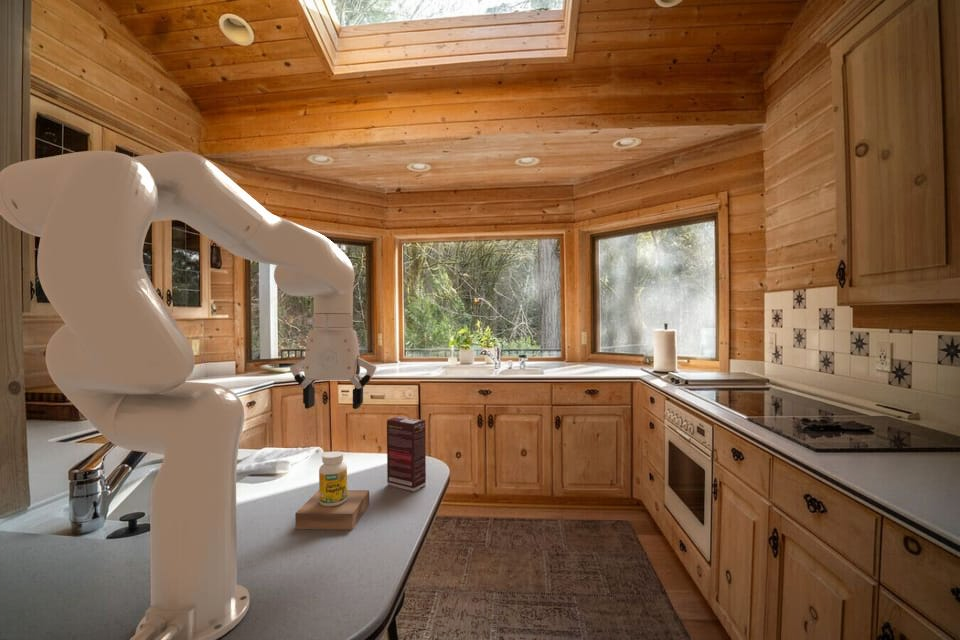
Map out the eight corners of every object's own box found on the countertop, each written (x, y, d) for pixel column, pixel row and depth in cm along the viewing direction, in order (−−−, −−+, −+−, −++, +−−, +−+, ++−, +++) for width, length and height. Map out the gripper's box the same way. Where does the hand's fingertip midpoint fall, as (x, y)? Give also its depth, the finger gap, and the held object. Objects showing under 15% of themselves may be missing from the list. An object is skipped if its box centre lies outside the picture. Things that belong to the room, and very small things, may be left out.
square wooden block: (352, 529, 81) (352, 513, 81) (295, 529, 81) (295, 513, 81) (369, 504, 92) (369, 490, 92) (318, 503, 92) (318, 489, 92)
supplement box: (426, 485, 102) (426, 419, 102) (414, 492, 98) (413, 423, 98) (399, 478, 106) (399, 415, 106) (386, 485, 102) (385, 419, 102)
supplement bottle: (343, 493, 90) (342, 448, 90) (350, 502, 86) (350, 455, 85) (316, 499, 87) (316, 453, 87) (322, 509, 83) (322, 460, 82)
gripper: (282, 323, 83) (282, 411, 83) (370, 323, 82) (370, 411, 82) (299, 323, 90) (299, 403, 90) (380, 323, 90) (380, 404, 90)
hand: (333, 407), depth 86 cm, fingers open, 9 cm apart
